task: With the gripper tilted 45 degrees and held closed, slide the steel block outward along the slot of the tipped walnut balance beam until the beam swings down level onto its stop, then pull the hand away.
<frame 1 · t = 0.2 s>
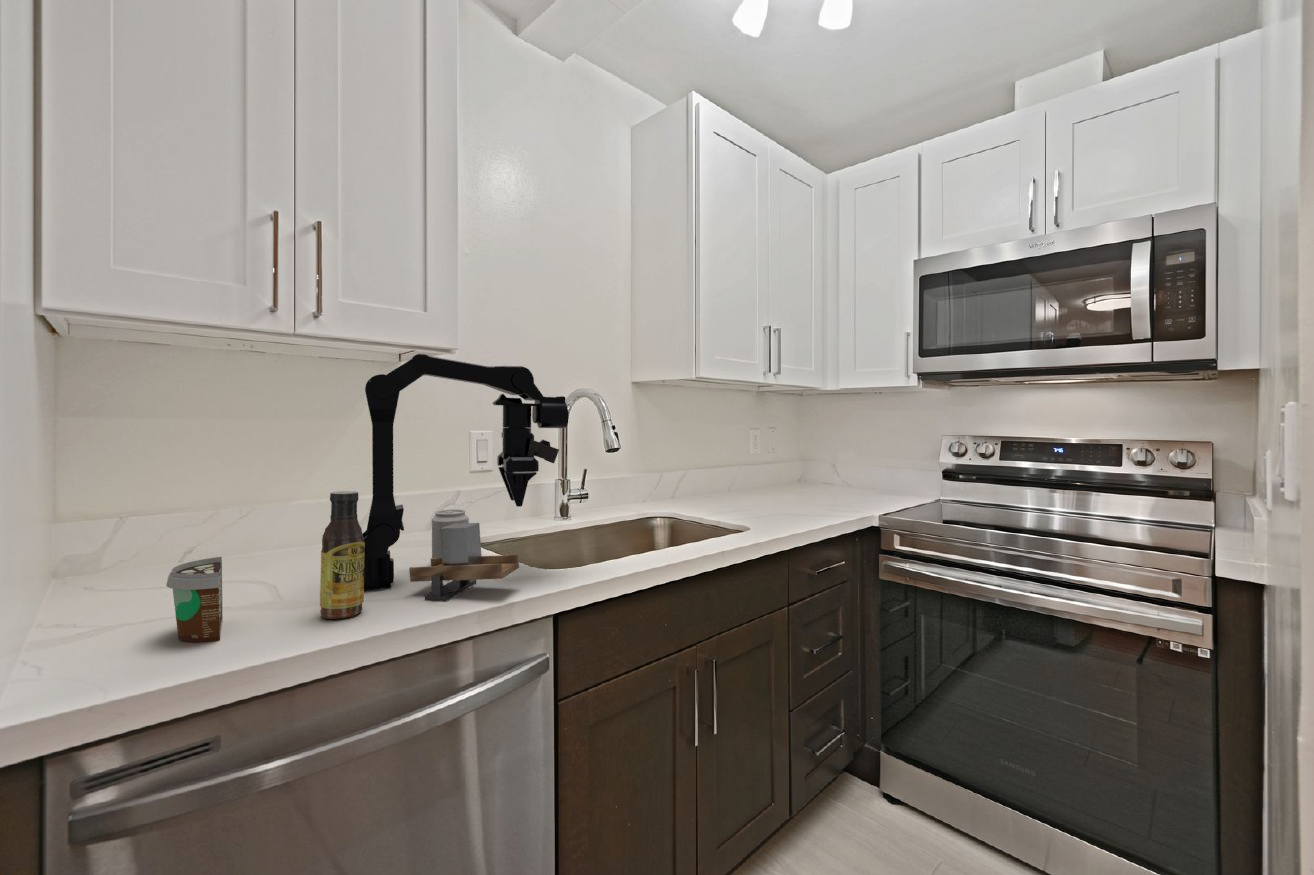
hand: (516, 503, 120), 14 cm above the countertop, tool pointing down, fingers open, 9 cm apart
sauce bottle: (343, 615, 94), on the countertop
stand: (451, 591, 106), on the countertop
food container: (195, 636, 84), on the countertop
can: (450, 567, 124), on the countertop
steel block: (462, 569, 106), point 4 cm above the countertop, touching beam
beam: (465, 567, 105), point 5 cm above the countertop, hinge at -4.8°, touching steel block
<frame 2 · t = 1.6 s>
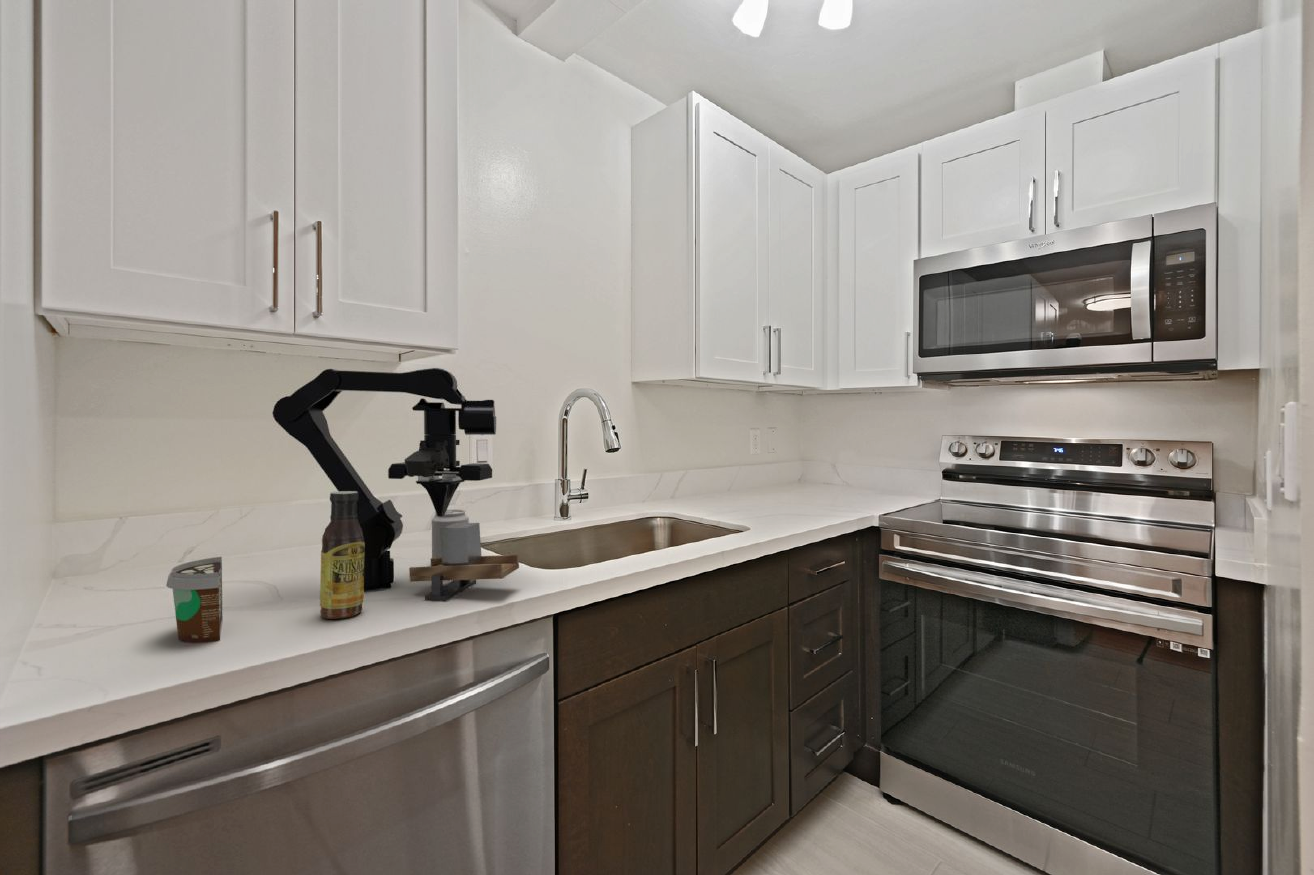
hand: (440, 516, 111), 13 cm above the countertop, tool pointing down, fingers closed
nothing on the countertop moved.
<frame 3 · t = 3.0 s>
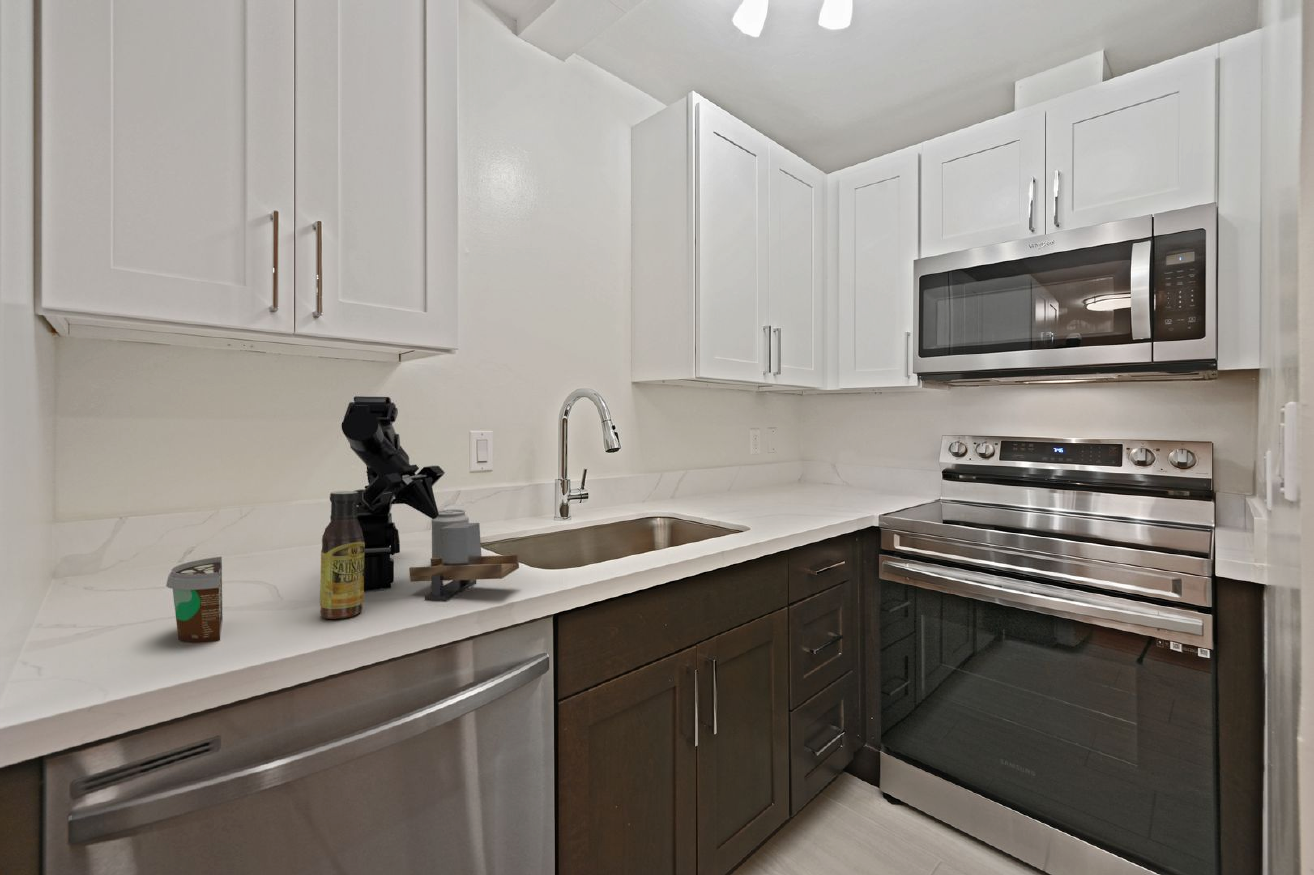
hand: (436, 517, 106), 14 cm above the countertop, tool tilted 45°, fingers closed
nothing on the countertop moved.
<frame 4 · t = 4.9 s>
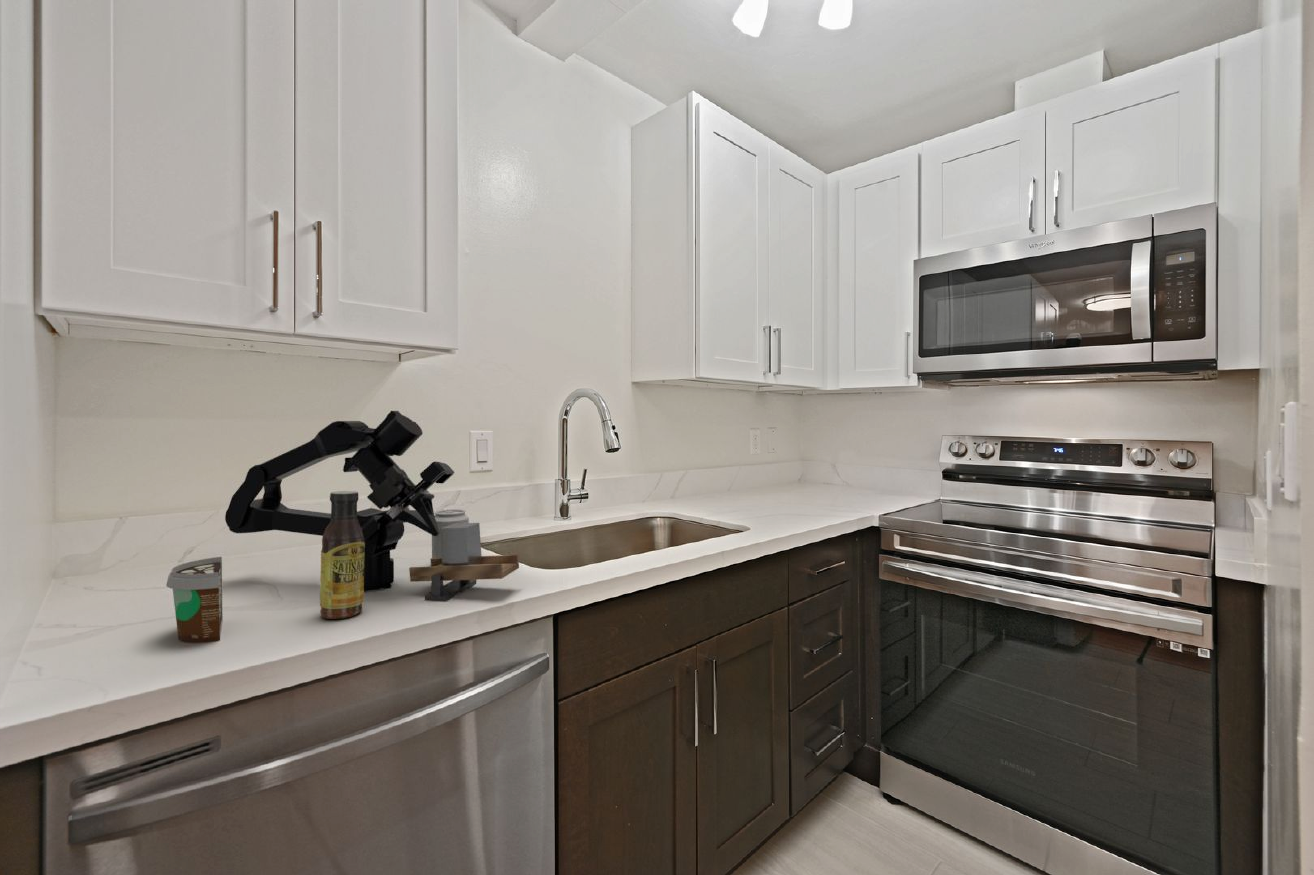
hand: (437, 534, 106), 10 cm above the countertop, tool tilted 45°, fingers closed
nothing on the countertop moved.
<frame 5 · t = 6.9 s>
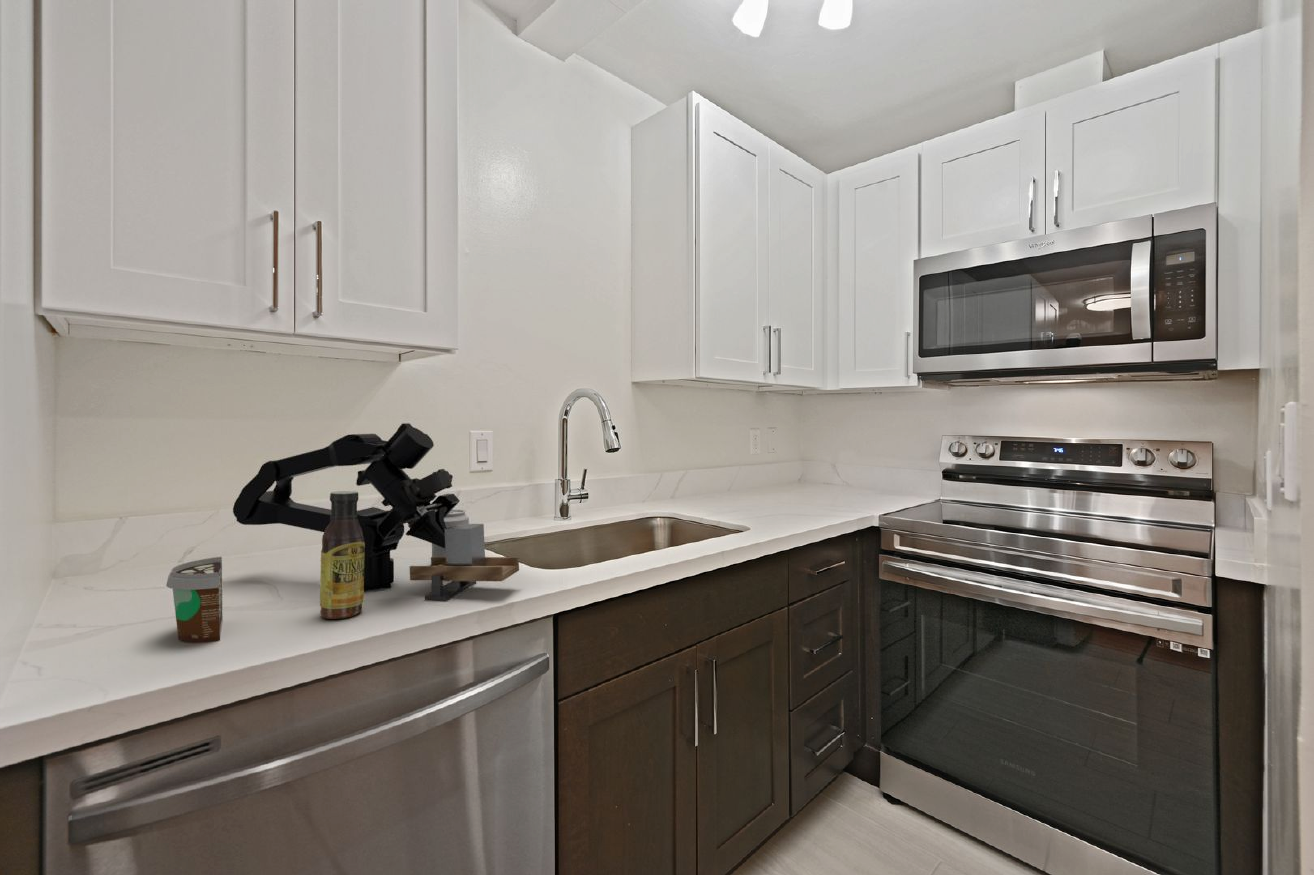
hand: (451, 547, 106), 8 cm above the countertop, tool tilted 45°, fingers closed
beam: (465, 568, 105), point 4 cm above the countertop, hinge at -2.4°, touching steel block
everything else where it was.
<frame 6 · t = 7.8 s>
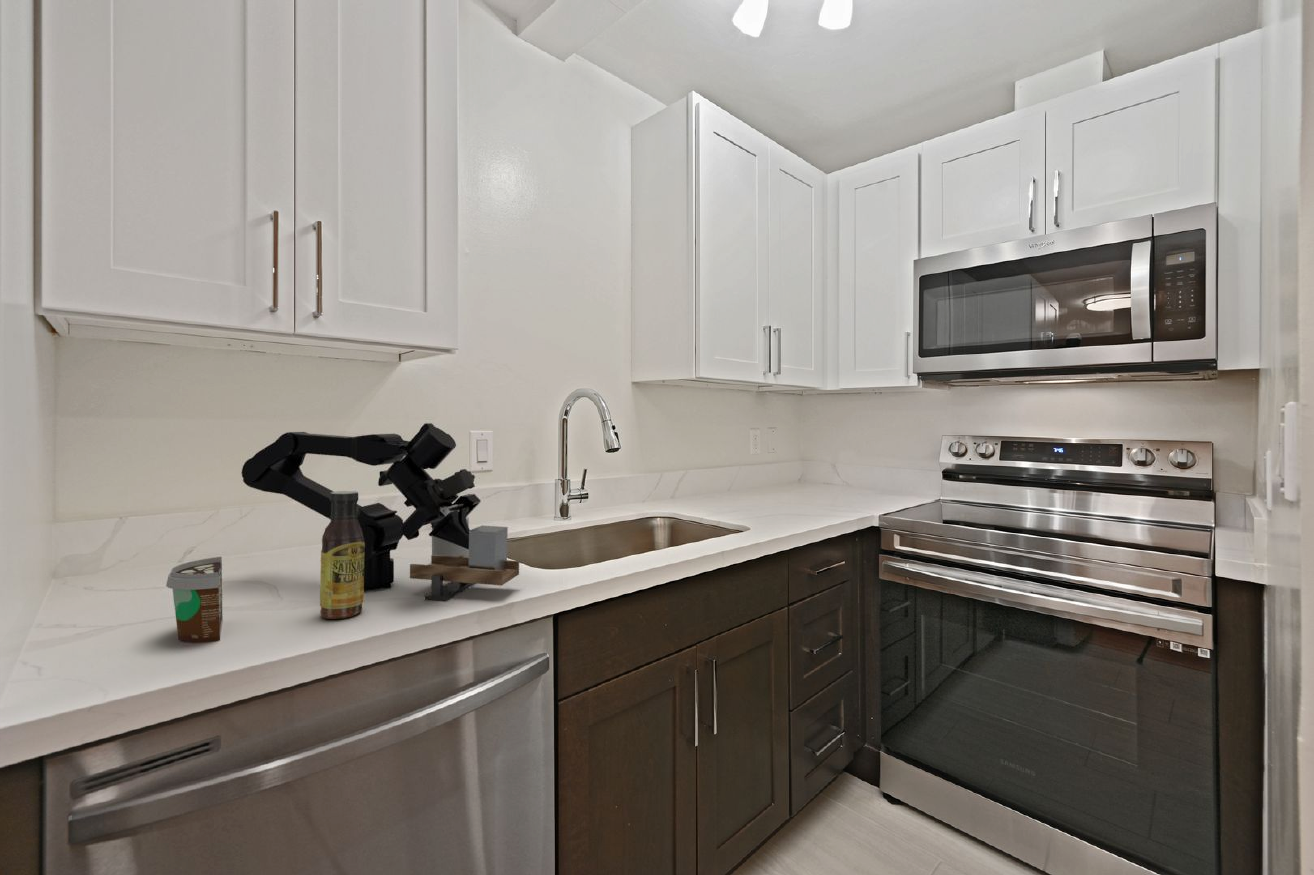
hand: (474, 548, 105), 8 cm above the countertop, tool tilted 45°, fingers closed, pressing on steel block
steel block: (488, 572, 105), point 4 cm above the countertop, touching beam, gripper
beam: (465, 569, 105), point 4 cm above the countertop, hinge at 1.2°, touching steel block
everything else where it was.
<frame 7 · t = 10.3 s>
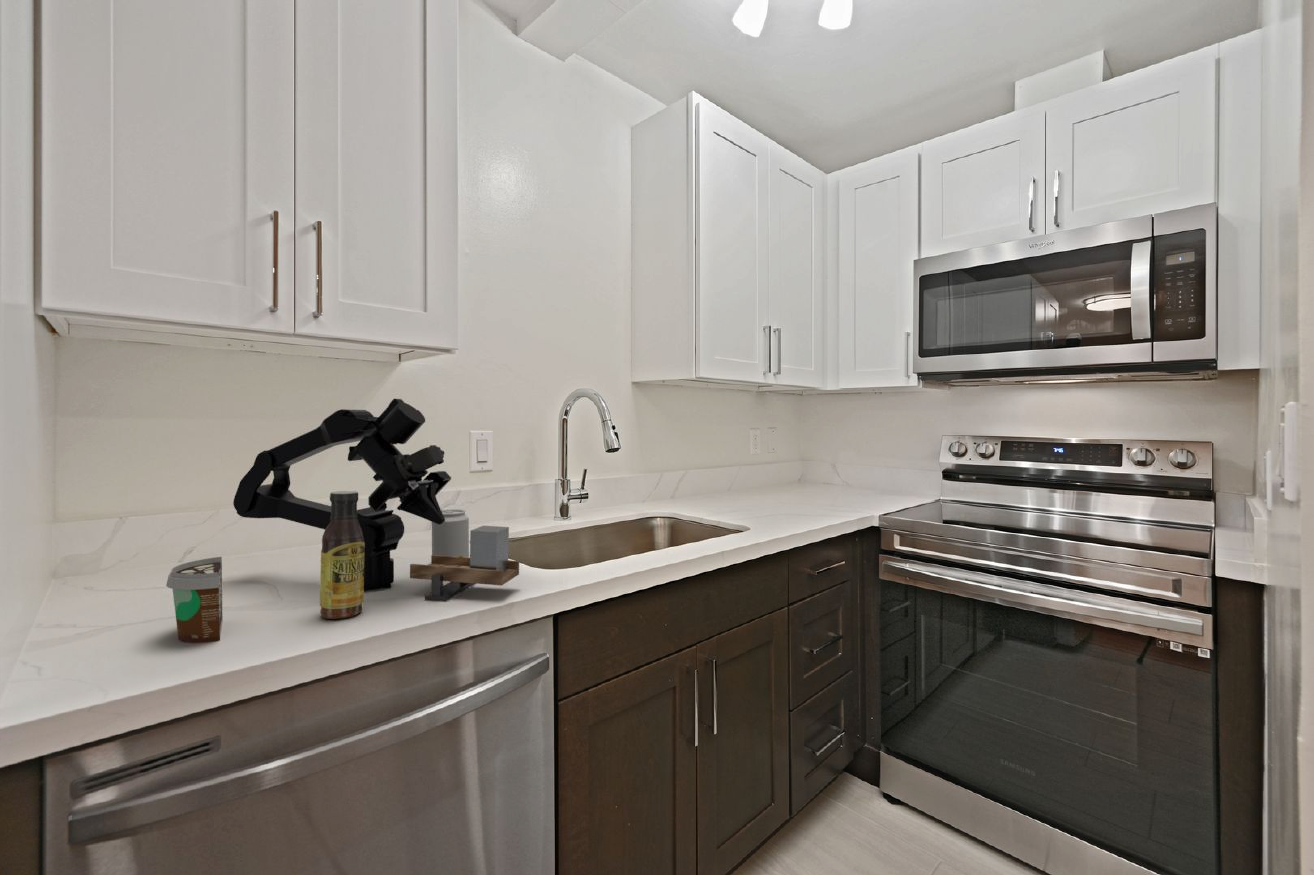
hand: (442, 522, 106), 13 cm above the countertop, tool tilted 45°, fingers closed
steel block: (489, 572, 105), point 4 cm above the countertop, touching beam
everything else where it was.
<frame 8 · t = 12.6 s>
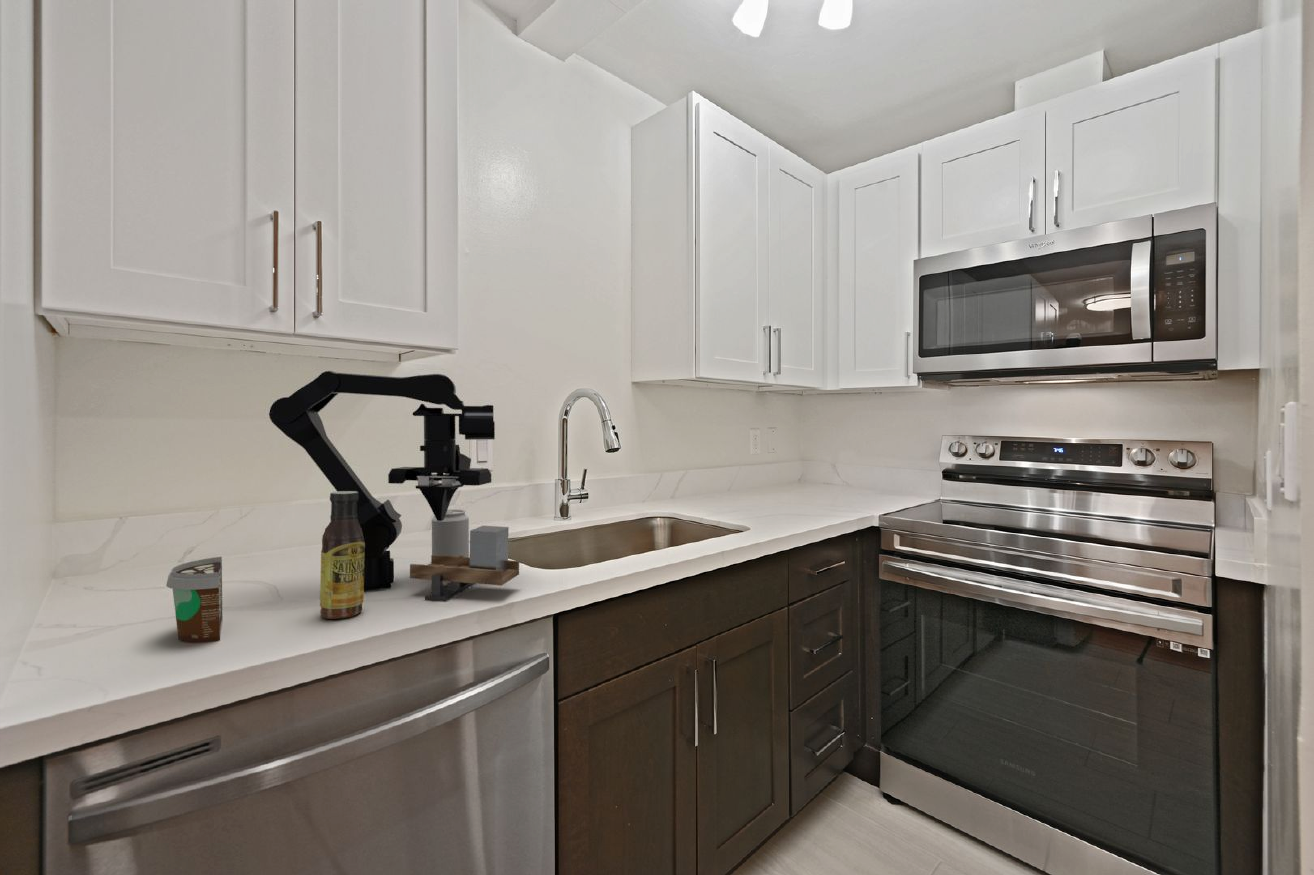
hand: (440, 520, 112), 12 cm above the countertop, tool pointing down, fingers closed
nothing on the countertop moved.
at the end: beam at +1° (first picture: -5°); steel block 0.6 cm from the target spot on the beam, point 0.3 cm above the beam's base; steel block tilted 1° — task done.
